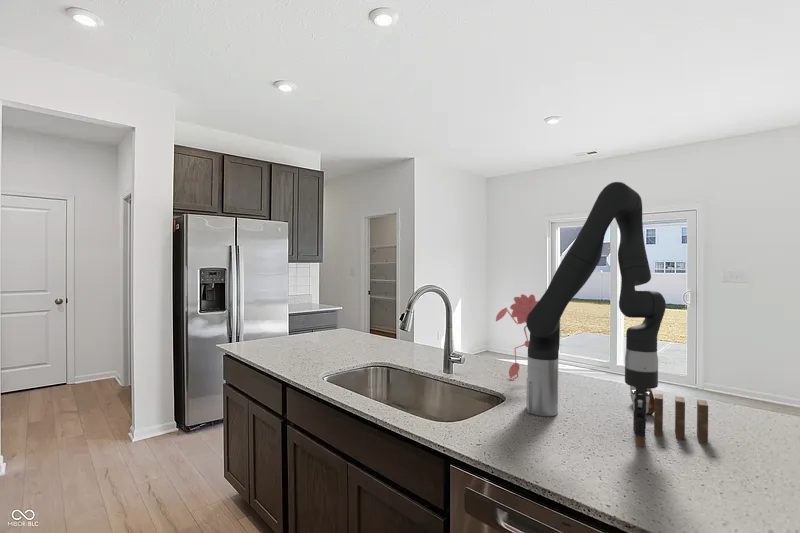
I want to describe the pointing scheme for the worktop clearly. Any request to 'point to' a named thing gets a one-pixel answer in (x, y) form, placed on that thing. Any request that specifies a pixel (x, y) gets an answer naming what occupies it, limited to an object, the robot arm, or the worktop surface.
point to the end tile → (639, 439)
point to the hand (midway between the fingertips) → (640, 431)
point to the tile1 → (634, 422)
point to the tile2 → (658, 414)
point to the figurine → (519, 320)
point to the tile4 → (702, 421)
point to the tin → (651, 402)
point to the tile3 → (680, 417)
